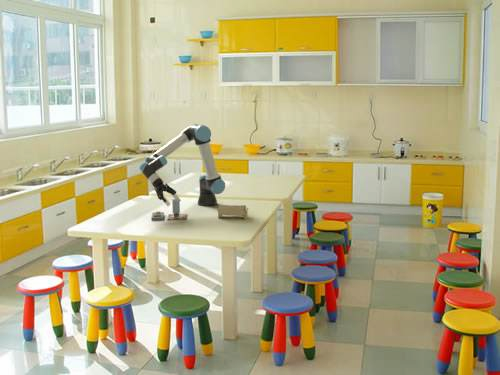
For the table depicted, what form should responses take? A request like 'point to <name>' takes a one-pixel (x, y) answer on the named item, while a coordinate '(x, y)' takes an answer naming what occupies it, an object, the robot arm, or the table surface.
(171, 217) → the walnut pad
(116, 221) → the table surface
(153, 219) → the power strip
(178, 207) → the brick
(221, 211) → the toy sofa
